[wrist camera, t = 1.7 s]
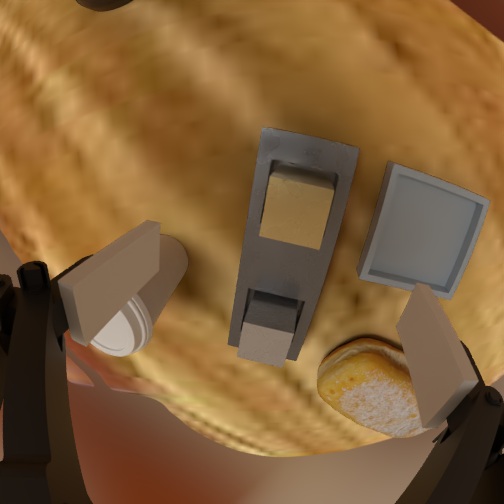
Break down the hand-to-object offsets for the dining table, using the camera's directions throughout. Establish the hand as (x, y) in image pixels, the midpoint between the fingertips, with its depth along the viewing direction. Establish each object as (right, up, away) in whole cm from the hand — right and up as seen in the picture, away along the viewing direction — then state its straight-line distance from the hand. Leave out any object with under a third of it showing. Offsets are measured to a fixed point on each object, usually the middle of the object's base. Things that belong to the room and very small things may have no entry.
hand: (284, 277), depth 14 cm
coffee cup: (-13, +1, +24) cm, 27 cm away
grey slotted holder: (+3, +1, +20) cm, 20 cm away
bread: (+20, -19, +26) cm, 38 cm away
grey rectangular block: (+1, -5, +22) cm, 22 cm away
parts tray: (+18, +3, +15) cm, 24 cm away
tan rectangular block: (+3, +7, +16) cm, 18 cm away
